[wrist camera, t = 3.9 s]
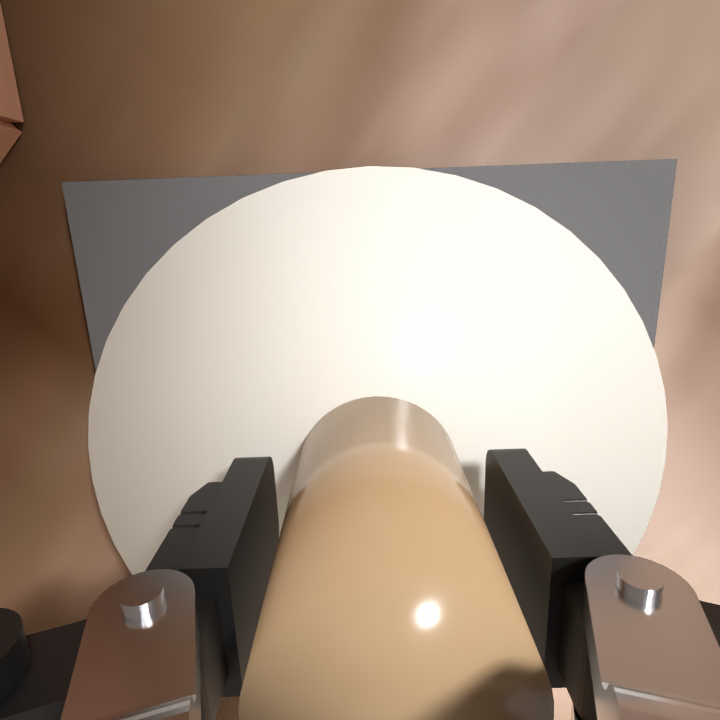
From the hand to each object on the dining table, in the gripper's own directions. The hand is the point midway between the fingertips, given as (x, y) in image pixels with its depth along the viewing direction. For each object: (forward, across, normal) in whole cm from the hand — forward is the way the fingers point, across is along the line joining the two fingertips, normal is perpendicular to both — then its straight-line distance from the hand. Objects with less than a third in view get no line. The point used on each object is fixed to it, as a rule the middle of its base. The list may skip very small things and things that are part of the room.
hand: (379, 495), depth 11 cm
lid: (+2, 0, 0) cm, 2 cm away
